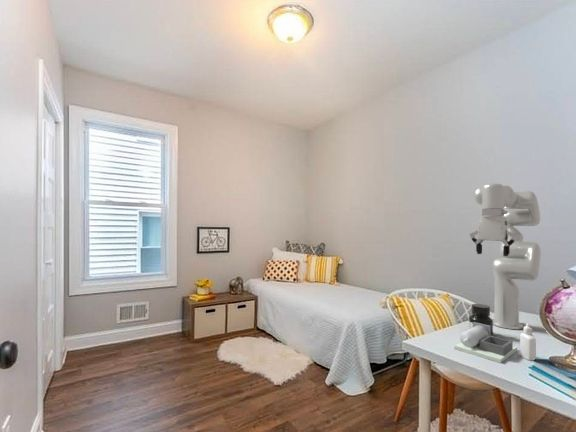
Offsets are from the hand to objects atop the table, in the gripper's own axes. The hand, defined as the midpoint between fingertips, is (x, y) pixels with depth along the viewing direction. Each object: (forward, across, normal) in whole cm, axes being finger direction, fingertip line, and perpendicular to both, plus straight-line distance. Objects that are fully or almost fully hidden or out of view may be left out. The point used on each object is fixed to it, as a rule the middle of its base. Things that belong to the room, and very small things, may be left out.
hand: (492, 254), depth 130 cm
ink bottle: (+35, +6, -4) cm, 35 cm away
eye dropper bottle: (+35, -15, +9) cm, 39 cm away
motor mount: (+35, -3, +14) cm, 38 cm away
